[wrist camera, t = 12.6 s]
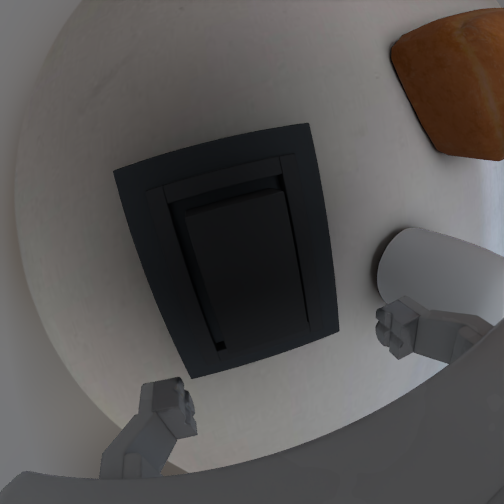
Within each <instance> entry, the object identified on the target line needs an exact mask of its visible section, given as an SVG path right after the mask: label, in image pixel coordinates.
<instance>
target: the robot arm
mask: <svg viewBox="0 0 504 504" xmlns="http://www.w3.org/2000/svg"><path fill="white" fill-rule="evenodd" d="M376 318H377V319H378V320H379V321H378V323H377V325H376V335H377V338H378V340H379V342H380V343H381V344H382V345H383V346H387V347H389V352H390V353H392V354H393V355H394V356H395V357H396V358H397V359H398V360H399V359H401V358H403V357H405V356H407V355H408V354H410V353H412V352H414V353H417V354H420V355H423V356H426V357H429V358H432V359H435V360H438V361H442V362H445V363H448V364H449V365H448V366H446V367H445V368H444V369H442V370H441V371H439V372H438V373H437V374H435V375H434V376H432V377H431V378H429V379H428V380H426V381H425V382H423V383H422V384H420V385H419V386H417V387H416V388H414V389H413V390H411V391H409V392H408V393H406V394H405V395H403V396H401V397H400V398H398V399H396V400H395V401H393V402H391V403H389V404H388V405H386V406H384V407H382V408H380V409H379V410H377V411H375V412H373V413H371V414H369V415H367V416H365V417H363V418H361V419H359V420H357V421H355V422H353V423H351V424H349V425H347V426H345V427H342V428H340V429H338V430H336V431H333V432H331V433H329V434H326V435H324V436H321V437H319V438H317V439H314V440H311V441H309V442H306V443H304V444H301V445H298V446H295V447H292V448H290V449H287V450H284V451H281V452H277V453H274V454H271V455H268V456H264V457H261V458H257V459H254V460H250V461H246V462H242V463H238V464H234V465H230V466H225V467H221V468H216V469H211V470H205V471H199V472H193V473H187V474H180V475H172V476H163V475H162V474H161V473H160V472H161V470H162V468H163V466H164V465H165V463H166V461H167V459H168V457H169V455H170V453H171V451H172V449H173V447H174V445H175V444H176V442H177V440H176V439H181V438H186V437H191V436H195V435H198V434H197V426H196V421H195V419H194V418H193V416H194V414H195V408H194V404H193V401H192V398H191V396H190V394H189V392H188V391H186V390H184V383H183V381H182V379H181V378H180V377H175V378H170V379H165V380H160V381H155V382H150V383H145V384H143V385H142V386H141V394H140V403H139V413H138V414H137V415H134V417H133V418H132V419H131V420H130V421H129V423H128V424H127V425H126V426H125V427H124V429H123V430H122V431H121V432H120V433H119V435H118V436H117V437H116V438H115V439H114V440H113V442H112V443H111V444H110V445H109V446H108V448H107V449H106V450H105V451H104V452H103V454H102V459H101V467H100V475H99V479H92V478H91V479H90V478H75V477H65V476H56V475H48V474H42V473H37V472H30V471H25V472H22V473H21V474H19V475H18V476H16V477H15V478H14V479H13V480H12V481H11V482H10V483H9V484H8V485H6V486H5V487H4V488H3V490H2V491H1V492H0V504H504V318H503V319H502V320H501V321H500V322H498V323H497V324H496V325H495V326H493V325H491V324H490V323H488V322H487V321H485V320H484V319H482V318H481V317H479V316H477V315H471V314H463V313H455V312H447V311H440V310H430V311H429V310H428V309H426V308H425V307H423V306H422V305H420V304H419V303H417V302H416V301H414V300H413V299H411V298H410V297H408V296H403V297H401V298H399V299H397V300H396V301H394V302H392V303H389V304H387V305H385V306H383V307H381V308H379V309H377V311H376Z"/></svg>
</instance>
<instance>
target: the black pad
mask: <svg viewBox="0 0 504 504" xmlns="http://www.w3.org/2000/svg"><path fill="white" fill-rule="evenodd" d="M185 221H186V225H187V228H188V232H189V235H190V239H191V242H192V245H193V249H194V252H195V255H196V258H197V262H198V265H199V268H200V271H201V274H202V277H203V281H204V284H205V287H206V290H207V293H208V296H209V299H210V302H211V305H212V308H213V311H214V314H215V317H216V319H217V322H218V325H219V328H220V331H221V334H222V337H223V339H224V342H225V345H226V348H227V350H228V353H229V354H232V353H236V352H239V351H242V350H246V349H249V348H252V347H255V346H259V345H262V344H265V343H268V342H271V341H274V340H277V339H280V338H283V337H286V336H289V335H292V334H295V333H297V332H300V331H303V330H306V329H308V324H307V317H306V311H305V304H304V298H303V292H302V286H301V280H300V274H299V268H298V263H297V257H296V252H295V246H294V241H293V235H292V230H291V225H290V220H289V215H288V210H287V205H286V200H285V195H284V191H281V190H277V189H273V188H266V189H262V190H258V191H254V192H250V193H246V194H242V195H238V196H234V197H231V198H227V199H223V200H219V201H216V202H212V203H209V204H205V205H201V206H198V207H194V208H191V209H187V210H186V212H185Z"/></svg>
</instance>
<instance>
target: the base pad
mask: <svg viewBox="0 0 504 504" xmlns="http://www.w3.org/2000/svg"><path fill="white" fill-rule="evenodd" d="M113 173H114V177H115V181H116V185H117V188H118V192H119V195H120V199H121V202H122V206H123V209H124V213H125V216H126V219H127V222H128V226H129V229H130V232H131V235H132V238H133V241H134V244H135V247H136V250H137V253H138V255H139V258H140V261H141V264H142V267H143V269H144V272H145V275H146V277H147V280H148V283H149V285H150V288H151V290H152V293H153V295H154V298H155V300H156V303H157V305H158V308H159V310H160V312H161V315H162V317H163V319H164V322H165V324H166V326H167V329H168V331H169V333H170V335H171V338H172V340H173V342H174V344H175V346H176V348H177V351H178V353H179V355H180V357H181V359H182V361H183V363H184V365H185V367H186V369H187V371H188V373H189V375H190V377H191V379H194V378H198V377H202V376H206V375H210V374H213V373H217V372H221V371H224V370H228V369H232V368H235V367H239V366H242V365H245V364H249V363H252V362H255V361H258V360H261V359H265V358H268V357H271V356H274V355H277V354H280V353H283V352H286V351H288V350H291V349H294V348H297V347H300V346H303V345H305V344H308V343H311V342H313V341H316V340H319V339H321V338H324V337H326V336H329V335H331V334H334V333H336V332H339V319H338V306H337V295H336V285H335V276H334V267H333V259H332V251H331V243H330V236H329V229H328V222H327V215H326V209H325V203H324V197H323V191H322V185H321V180H320V174H319V169H318V164H317V159H316V154H315V149H314V144H313V140H312V135H311V130H310V126H309V123H303V124H296V125H290V126H283V127H277V128H271V129H266V130H260V131H255V132H250V133H245V134H240V135H236V136H231V137H227V138H222V139H218V140H214V141H210V142H206V143H202V144H198V145H194V146H190V147H187V148H183V149H179V150H176V151H172V152H169V153H166V154H162V155H159V156H156V157H153V158H149V159H146V160H143V161H140V162H137V163H134V164H131V165H128V166H125V167H123V168H120V169H117V170H114V171H113ZM266 188H273V189H277V190H281V191H284V195H285V200H286V205H287V210H288V215H289V220H290V225H291V230H292V235H293V241H294V246H295V252H296V257H297V263H298V268H299V274H300V280H301V286H302V292H303V298H304V304H305V311H306V317H307V324H308V329H306V330H303V331H300V332H297V333H295V334H292V335H289V336H286V337H283V338H280V339H277V340H274V341H271V342H268V343H265V344H262V345H259V346H255V347H252V348H249V349H246V350H242V351H239V352H236V353H232V354H229V353H228V350H227V348H226V345H225V342H224V339H223V337H222V334H221V331H220V328H219V325H218V322H217V319H216V317H215V314H214V311H213V308H212V305H211V302H210V299H209V296H208V293H207V290H206V287H205V284H204V281H203V277H202V274H201V271H200V268H199V265H198V262H197V258H196V255H195V252H194V249H193V245H192V242H191V239H190V235H189V232H188V228H187V225H186V221H185V212H186V210H187V209H191V208H194V207H198V206H201V205H205V204H209V203H212V202H216V201H219V200H223V199H227V198H231V197H234V196H238V195H242V194H246V193H250V192H254V191H258V190H262V189H266Z"/></svg>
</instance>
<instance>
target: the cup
mask: <svg viewBox="0 0 504 504" xmlns="http://www.w3.org/2000/svg"><path fill="white" fill-rule="evenodd" d="M377 286H378V289H379V293H380V295H381V297H382V299H383V300H384V301H385V302H386V303H387V304H389V303H392V302H394V301H396V300H397V299H399V298H401V297H403V296H408V297H410V298H411V299H413V300H414V301H416V302H417V303H419V304H420V305H422V306H423V307H425V308H426V309H428V310H429V311H430V310H440V311H447V312H455V313H463V314H471V315H477V316H479V317H481V318H482V319H484V320H485V321H487V322H488V323H490V324H491V325H493V326H495V325H496V324H497V323H498V322H500V321H501V320H502V319H503V318H504V257H502V256H500V255H498V254H496V253H494V252H492V251H490V250H487V249H485V248H482V247H480V246H477V245H475V244H472V243H469V242H467V241H464V240H461V239H458V238H454V237H451V236H448V235H445V234H441V233H437V232H434V231H430V230H426V229H421V228H408V229H404V230H403V231H401V232H400V233H399V234H397V235H396V236H395V237H394V238H393V240H392V241H391V242H390V243H389V244H388V246H387V248H386V249H385V251H384V253H383V255H382V258H381V260H380V262H379V266H378V273H377Z"/></svg>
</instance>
